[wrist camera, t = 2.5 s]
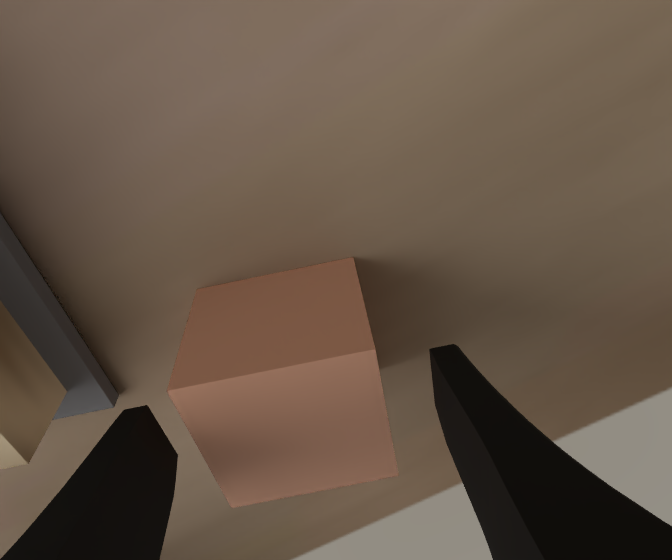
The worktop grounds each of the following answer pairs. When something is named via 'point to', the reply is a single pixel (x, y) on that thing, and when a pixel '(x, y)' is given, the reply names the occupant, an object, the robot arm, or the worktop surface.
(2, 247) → the rubber mat
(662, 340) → the worktop surface
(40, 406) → the oak slab
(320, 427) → the terracotta block
